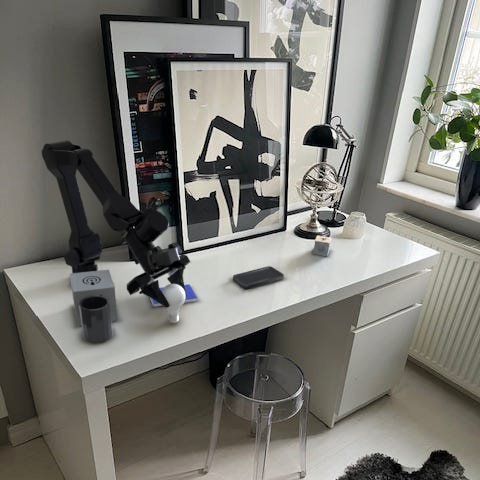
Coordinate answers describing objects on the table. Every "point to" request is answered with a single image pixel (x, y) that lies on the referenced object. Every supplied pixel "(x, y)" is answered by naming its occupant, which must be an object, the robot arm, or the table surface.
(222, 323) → the table surface
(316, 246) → the dice cube
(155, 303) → the hard drive
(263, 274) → the phone
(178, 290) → the lightbulb
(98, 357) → the table surface
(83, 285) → the icon cube
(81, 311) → the pen cup
